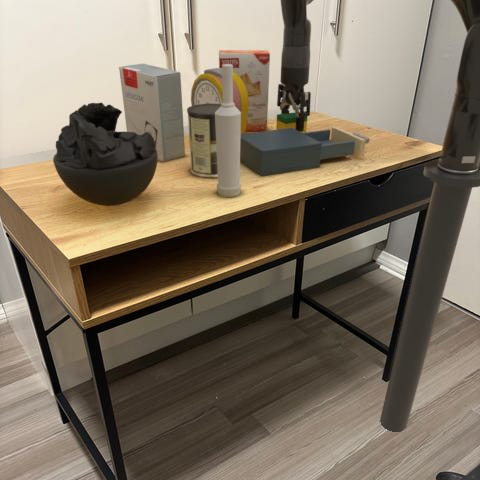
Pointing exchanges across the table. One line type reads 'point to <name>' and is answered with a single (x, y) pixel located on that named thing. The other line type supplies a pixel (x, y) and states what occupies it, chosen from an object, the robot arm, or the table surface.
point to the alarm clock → (220, 92)
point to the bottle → (228, 139)
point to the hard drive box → (154, 107)
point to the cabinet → (279, 151)
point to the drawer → (339, 142)
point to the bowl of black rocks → (104, 157)
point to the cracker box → (251, 82)
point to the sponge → (289, 121)
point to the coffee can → (203, 139)
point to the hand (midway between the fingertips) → (291, 127)
